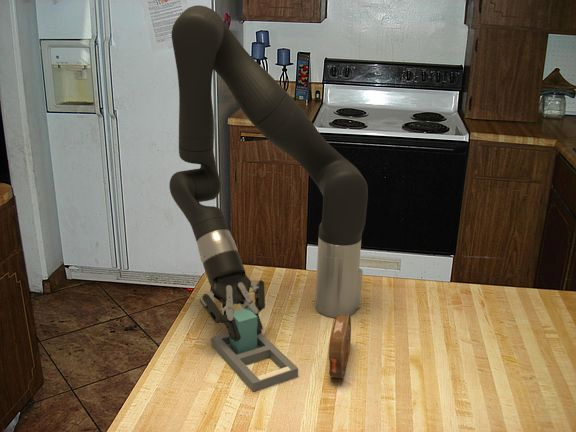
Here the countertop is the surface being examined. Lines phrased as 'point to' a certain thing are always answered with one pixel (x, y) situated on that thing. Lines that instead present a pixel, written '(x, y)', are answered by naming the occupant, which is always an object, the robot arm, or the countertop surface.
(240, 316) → the block
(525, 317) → the countertop surface
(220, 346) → the frame
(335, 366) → the tin
